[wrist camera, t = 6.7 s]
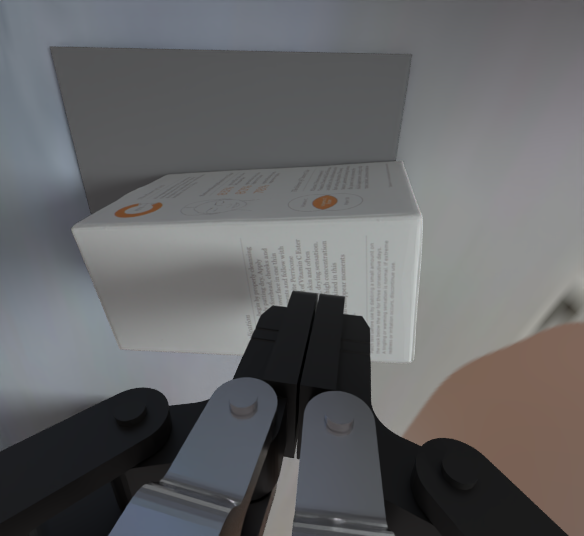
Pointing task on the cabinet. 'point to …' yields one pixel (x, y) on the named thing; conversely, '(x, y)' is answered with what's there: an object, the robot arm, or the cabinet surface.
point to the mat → (224, 111)
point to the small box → (256, 254)
